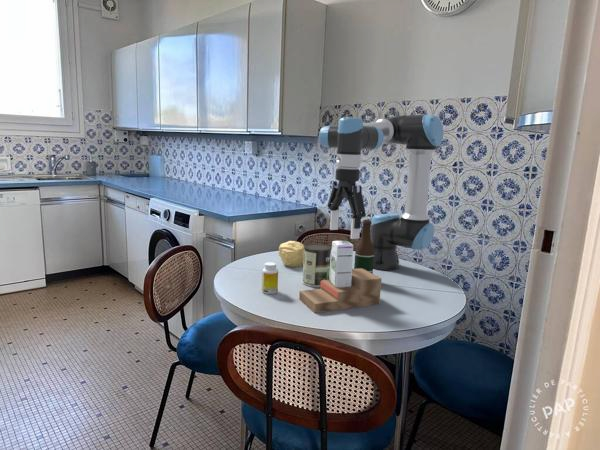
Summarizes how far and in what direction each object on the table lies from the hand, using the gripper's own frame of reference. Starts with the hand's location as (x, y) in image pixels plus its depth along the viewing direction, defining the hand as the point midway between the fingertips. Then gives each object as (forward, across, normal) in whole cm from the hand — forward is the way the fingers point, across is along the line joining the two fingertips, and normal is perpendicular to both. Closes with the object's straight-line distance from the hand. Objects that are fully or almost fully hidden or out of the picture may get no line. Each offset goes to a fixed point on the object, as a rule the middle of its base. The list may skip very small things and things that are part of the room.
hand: (343, 233), depth 135 cm
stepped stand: (+23, 0, 0) cm, 23 cm away
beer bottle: (+24, -17, +20) cm, 35 cm away
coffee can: (+24, -20, +1) cm, 31 cm away
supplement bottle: (+23, -16, -19) cm, 34 cm away
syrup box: (+18, 0, 0) cm, 18 cm away
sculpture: (+24, -44, +2) cm, 50 cm away
